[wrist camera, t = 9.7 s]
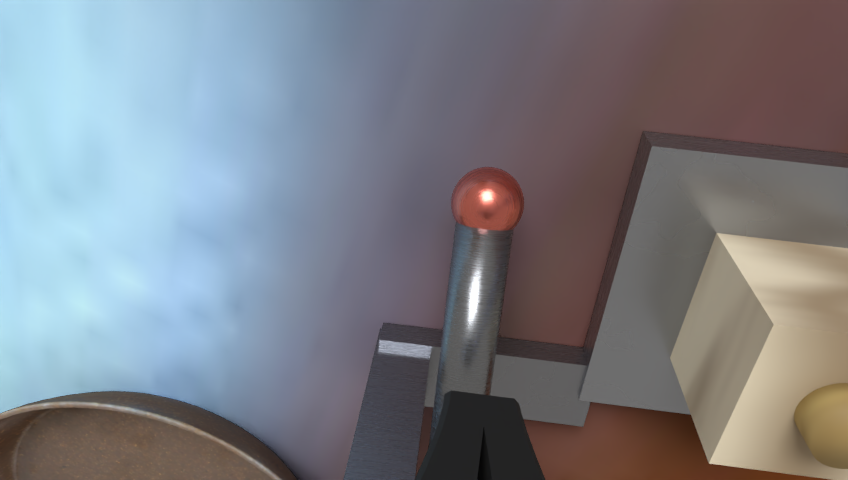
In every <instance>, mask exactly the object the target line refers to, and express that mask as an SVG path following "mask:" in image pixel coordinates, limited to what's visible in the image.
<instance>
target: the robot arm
mask: <svg viewBox="0 0 848 480" xmlns="http://www.w3.org/2000/svg"><path fill="white" fill-rule="evenodd" d="M415 480H545V478H544V475H543V473H542V470H541V468H540V465H539V463H538V460H537V458H536V455H535V452H534V450H533V447H532V444H531V442H530V439H529V436H528V433H527V430H526V427H525V424H524V420H523V417H522V413H521V409H520V405H519V403H518V402H517V401H516V400H515V399H514V398H506V397H499V396H491V395H483V394H475V393H468V392H460V391H452V390H451V391H449V392H447V393H445V394H444V401H443V407H442V411H441V415H440V418H439V422H438V425H437V428H436V431H435V433H434V436H433V439H432V441H431V444H430V447H429V449H428V451H427V453H426V456H425V458H424V460H423V462H422V465H421V467H420V469H419V471H418V474H417V476H416V478H415Z"/></svg>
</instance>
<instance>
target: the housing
mask: <svg viewBox="0 0 848 480" xmlns="http://www.w3.org/2000/svg"><path fill="white" fill-rule="evenodd" d="M670 359H671V362H672V365H673V367H674V370H675V373H676V376H677V378H678V381H679V384H680V386H681V389H682V392H683V395H684V397H685V400H686V403H687V405H688V408H689V411H690V414H691V416H692V419H693V422H694V424H695V427H696V430H697V433H698V435H699V438H700V441H701V443H702V446H703V449H704V452H705V454H706V457H707V460H708V462H709V464H717V465H725V466H732V467H740V468H748V469H755V470H763V471H771V472H778V473H786V474H794V475H801V476H809V477H817V478H824V479H832V480H848V248H841V247H832V246H823V245H815V244H806V243H798V242H789V241H781V240H772V239H764V238H755V237H746V236H738V235H729V234H721V233H716V236H715V238H714V241H713V244H712V246H711V249H710V252H709V254H708V257H707V260H706V263H705V265H704V268H703V271H702V273H701V276H700V279H699V281H698V284H697V287H696V289H695V292H694V295H693V297H692V300H691V303H690V305H689V308H688V311H687V313H686V316H685V319H684V322H683V324H682V327H681V330H680V332H679V335H678V338H677V340H676V343H675V346H674V348H673V351H672V354H671V356H670Z"/></svg>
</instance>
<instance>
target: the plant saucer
mask: <svg viewBox="0 0 848 480" xmlns="http://www.w3.org/2000/svg"><path fill="white" fill-rule="evenodd" d="M0 480H297V479H296V478H295V476H294V475H293V474H292V472H291V471H290V470H289V469H288V467H287V466H286V465H285V464H284V463H283V462H282V461H281V460H280V459H279V458H278V457H277V455H276V454H275V453H274V452H273V451H272V450H270V449H269V448H268V447H267V446H266V445H264V444H263V443H262V442H261V441H259V440H258V439H257V438H255V437H254V436H252V435H251V434H249V433H248V432H247V431H245V430H244V429H242V428H240V427H239V426H237V425H235V424H233V423H231V422H229V421H228V420H226V419H224V418H222V417H220V416H218V415H216V414H214V413H211V412H209V411H207V410H204V409H202V408H199V407H197V406H194V405H191V404H188V403H185V402H182V401H178V400H174V399H170V398H166V397H161V396H156V395H151V394H145V393H136V392H119V391H107V392H91V393H81V394H73V395H66V396H60V397H55V398H51V399H46V400H41V401H37V402H34V403H30V404H26V405H23V406H20V407H17V408H14V409H11V410H8V411H6V412H3V413H0Z"/></svg>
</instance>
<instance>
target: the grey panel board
mask: <svg viewBox="0 0 848 480" xmlns="http://www.w3.org/2000/svg"><path fill="white" fill-rule="evenodd" d="M716 233H721V234H729V235H738V236H746V237H755V238H764V239H772V240H781V241H789V242H798V243H806V244H815V245H823V246H832V247H841V248H848V154H844V153H835V152H826V151H817V150H808V149H799V148H790V147H781V146H772V145H763V144H754V143H745V142H736V141H727V140H718V139H709V138H700V137H691V136H682V135H673V134H664V133H655V132H646V131H643V134H642V137H641V141H640V145H639V148H638V152H637V155H636V159H635V163H634V166H633V170H632V174H631V177H630V181H629V184H628V188H627V192H626V195H625V199H624V202H623V206H622V210H621V213H620V217H619V221H618V224H617V228H616V231H615V235H614V239H613V242H612V246H611V250H610V253H609V257H608V260H607V264H606V268H605V271H604V275H603V278H602V282H601V286H600V289H599V293H598V297H597V300H596V304H595V307H594V311H593V315H592V318H591V322H590V326H589V329H588V333H587V336H586V340H585V344H584V347H575V346H567V345H559V344H551V343H542V342H534V341H526V340H518V339H510V338H502V337H498V343H497V350H496V357H495V364H494V372H493V379H492V386H491V393H490V395H491V396H499V397H506V398H514V399H515V400H516V401H517V402H518V403H519V405H520V409H521V413H522V417H523V419H527V420H535V421H543V422H551V423H558V424H566V425H574V426H582V427H583V425H584V422H585V419H586V416H587V412H588V409H589V406H590V402H596V403H604V404H612V405H620V406H628V407H635V408H643V409H651V410H659V411H667V412H675V413H682V414H690V411H689V408H688V405H687V403H686V400H685V397H684V395H683V392H682V389H681V386H680V384H679V381H678V378H677V376H676V373H675V370H674V367H673V365H672V362H671V359H670V356H671V354H672V351H673V348H674V346H675V343H676V340H677V338H678V335H679V332H680V330H681V327H682V324H683V322H684V319H685V316H686V313H687V311H688V308H689V305H690V303H691V300H692V297H693V295H694V292H695V289H696V287H697V284H698V281H699V279H700V276H701V273H702V271H703V268H704V265H705V263H706V260H707V257H708V254H709V252H710V249H711V246H712V244H713V241H714V238H715V236H716ZM442 333H443V330H438V329H430V328H422V327H414V326H406V325H398V324H390V323H383V326H382V329H380V332H379V336H378V340H377V344H376V349H375V353H374V357H373V361H372V365H371V369H370V373H369V377H368V381H367V385H366V390H365V394H364V398H363V402H362V406H361V410H360V414H359V418H358V422H357V426H356V431H355V435H354V439H353V443H352V447H351V451H350V455H349V459H348V463H347V468H346V472H345V476H344V480H415V477H416V469H417V461H418V453H419V445H420V438H421V430H422V422H423V414H424V406H427V407H434V399H435V391H436V383H437V374H438V366H439V358H440V350H441V341H442ZM690 415H691V414H690Z"/></svg>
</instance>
